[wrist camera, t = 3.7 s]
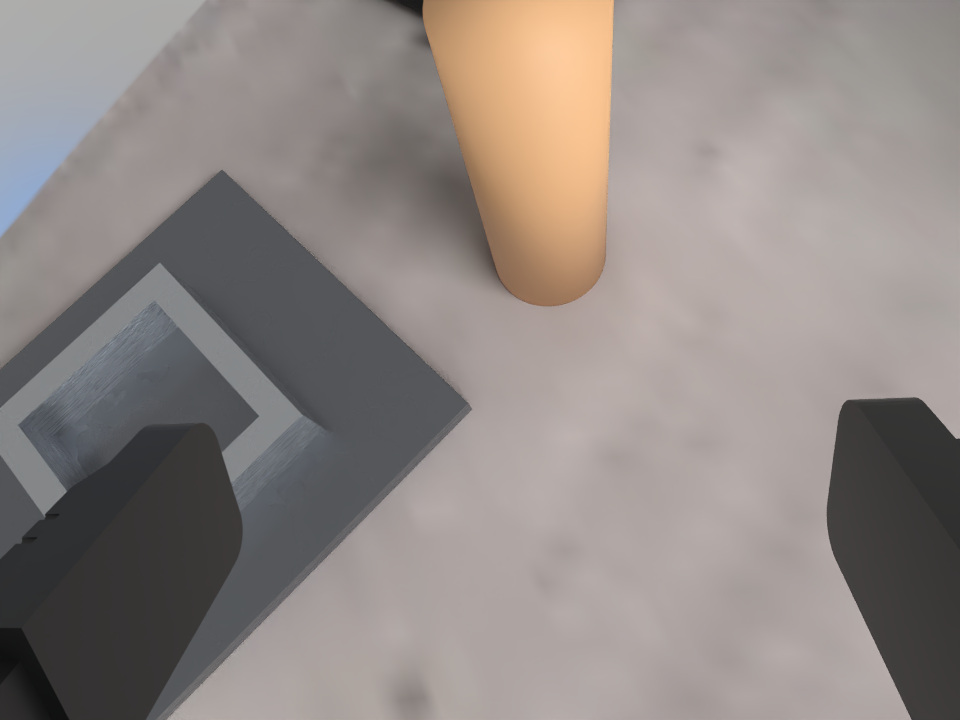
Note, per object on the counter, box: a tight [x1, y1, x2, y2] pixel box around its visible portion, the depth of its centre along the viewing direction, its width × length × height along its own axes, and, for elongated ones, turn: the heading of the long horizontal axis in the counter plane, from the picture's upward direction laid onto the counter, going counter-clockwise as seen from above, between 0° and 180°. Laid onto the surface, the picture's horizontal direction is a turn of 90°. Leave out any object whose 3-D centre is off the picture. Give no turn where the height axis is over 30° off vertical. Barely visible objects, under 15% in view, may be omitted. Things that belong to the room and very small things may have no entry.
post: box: [423, 0, 614, 306], centre depth 21 cm, size 4×4×12 cm
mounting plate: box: [0, 170, 472, 720], centre depth 25 cm, size 16×14×3 cm
